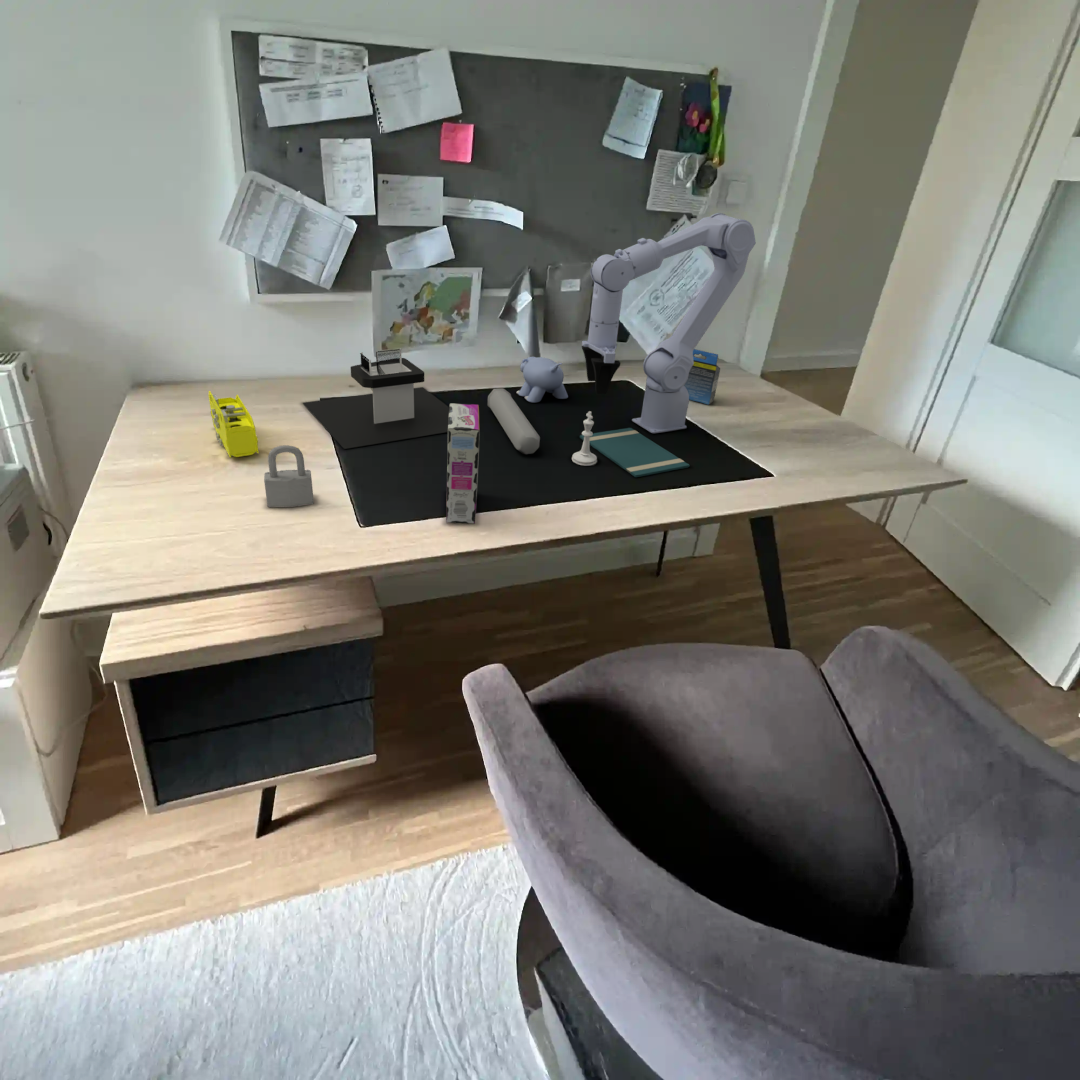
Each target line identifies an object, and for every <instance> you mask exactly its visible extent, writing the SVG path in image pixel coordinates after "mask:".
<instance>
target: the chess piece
mask: <svg viewBox="0 0 1080 1080" xmlns="http://www.w3.org/2000/svg"><path fill="white" fill-rule="evenodd" d="M585 416H586V417H587V418H586V419H584V420H583V427H584V430H583V431H582V432H581V435H584V440H582V441H583V442H582V445H581V449H580V450H579V451H576V452H574V453H573V454H572V456H571V460H572V462H573V463H574V464H576V465H580V466H584V467H587V466H595V465H596V464H597V463H598V456H597V455H596V454H594V453H592V452H591V450H590V447H591V445H590V444H589V440H590V436H592V435H593V431H591V430H592V428H593V426H594V424H595V421H594V420H593V418H594V417H593V415H592V411H590V410H589V411H587V413H586V415H585Z"/></svg>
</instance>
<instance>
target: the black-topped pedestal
mask: <svg viewBox="0 0 1080 1080" xmlns="http://www.w3.org/2000/svg"><path fill="white" fill-rule="evenodd" d="M363 353H364V352H361V351H360V353H359V354H360V364H356V365H352V366H350V377H351V378H352V379H353V380H355V382H357V383H358V384H359V385H360V386H361V387H362V388H365V389H370V390H371V391H372V393H368V394H359V395H353V396H352V395H351V396H344V397H336V398H335V397H334V398H328V399H320V400H313V401H305V402H302V404H303V405H304V407H305V408H306V409H307V410H308V411H309V412H310V413H311V414H312V415H313V417H314V418H315V419H316V420H317V421H318V422H319V423H320V425H322V426H323V428H324V429H325V430H326V431H327V432H328V433H329V434H330V435H331V436H332V438H334V440H335V441H336V442H337V443H338V444H339V445H340V446H341V448H342V449H343V450H346V449H353V448H358V447H365V446H372V445H377V444H383V443H390V442H395V441H401V440H407V439H415V438H421V437H425V436H431V435H437V434H443V433H448V419H449V408H450V406H449V405H447V404H446V403H444V402H443V401H442V400H440V399H439V398H437V397H436V396H435V395H434V394H433V393H431V392H430V391H429V390H427V389H426V388H424V387H415V384H419V383H424V382H425V371H423V370H422V369H421V368H420V367H418V366H417V365H415V364H414V363H412V362H411V361H410V360H409V359H407V358H405V357H402V348H401V347H400V348H398V349H397V348H396V349H387V350H375V360H376V361H372V359H369V358H368V357H366V355H364V354H363ZM387 354H388V356H387ZM397 354H398V355H397ZM388 357H389V358H388Z"/></svg>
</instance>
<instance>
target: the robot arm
mask: <svg viewBox="0 0 1080 1080" xmlns="http://www.w3.org/2000/svg"><path fill="white" fill-rule="evenodd" d="M754 229H755V228H754V226H753V224H752V223H751V222H750V221H749V220H747V219H742V218H741V219H740V218H737V217H733V216H730V215H727V214H725V213H723V212H717V213H713V214H711V215H710V216H704V217H702V218H700V220H699V221H697V222H694V223H693V224H691V225H688V226H687V227H685V228H682V229H681V230H679V231H677V232H675V233H673V234H671V235H669V236H667V237H665V238H663V239H661V240H659V241H655V240H654V239H651V238H646V237H641V238H639V239H637V243H636V244H633V245H631V246H628V247H626V248H625V249H621V248H618V249H616V250H615V253H614V254H613V255H612V254H608V253H606V254H602V255H600V256H598V257H597V258H596V260H595V261H594V262H593V264H592V267H590V269H589V272H590V273H589V275H590V278H591V279H592V281H593V290H592V298H591V307H590V316H589V317H590V318H589V327H588V337H587V340H582V341H581V349H582V352H583V357H584V361H585V368H586V378H587V381H588V382H594V390H595V394H597V395H606V394H607V393H608V390H609V389H610V385H611V382H612V380H613V377H614V376H615V374H616V372H617V371H618V369H619V368H620V367H621V362H620V360H618V359H617V360H616V352H617V347H618V343H617V341H618V333H619V326H620V316H621V315H620V314H621V309H622V302H623V293H624V289H626V288H627V286H628V285H629V283H630V281H633V280H635V279H637V278H640V277H642V276H644V275H646V274H649V273H652V272H653V271H655V270H658V269H660V268H661V266H662V264H663V262H664V260H665V259H668V258H671V257H673V256H676V255H679V254H681V253H684V252H686V251H690V250H692V249H694V248H698V247H700V246H702V247H707V249H708V251H709V253H710V255H711V257H712V262H713V268H714V270H713V271H712V272H711V274H710V276H709V277H708V279H707V281H706V282H705V283H704V285H703V286H702V288H701V289H700V291H699V293H698V294H697V296H696V297H695V299H694V300H693V302H692V304H691V305H690V307H689V308H688V310H687V311H686V313H685V314H684V316H683V317H682V319H681V320H680V322H679V324H678V325H677V326H676V328H675V330H674V331H673V333H672V334H671V336H670V337H668V338H666V339H664V340H662V341H660V342H659V343H658V345H657V346H656V348H654V349H653V350H652V351H650V352H649V353H648V354H647V355H646V357H645V358H644V359H643V363H642V370H643V372H644V374H645V375H646V381H645V389H644V395H643V402H642V408H641V415H640V417H634V418H632V419H631V421H632V422H633V423H635V424H636V425H638V426H640V427H641V428H643V429H644V430H646V431H648V432H649V433H651V434H655V435H656V434H659V433H666V432H673V431H679V430H685V429H687V428H688V427H687V425H686V418H687V414H688V408H689V403H690V400H689V394H688V391H687V389H686V387H685V386H684V385H685V383H686V381H687V379H688V375H689V371H690V369H691V367H692V366H693V364H694V361H693V350H694V349H696V347H697V346H698V344H699V342H700V341H701V340H702V338H703V336H705V334H706V332H707V331H708V329H709V328H710V326H711V324H712V323H713V322H714V320H715V318H716V317H717V315H718V314H719V312H720V311H721V310H722V308H723V306H724V305H725V303H726V302H727V301H728V299H729V298H730V296H731V295H732V293H733V292H734V290H735V288H736V287H737V285H738V284H739V282H740V281H741V279H742V278H743V276H744V274H745V271H746V268H747V263H748V259H749V255H750V253H751V251H752V250H753V248H754V247H755V245H756V243H757V242H756V236H755V235H756V234H755V230H754Z"/></svg>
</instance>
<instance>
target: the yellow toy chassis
mask: <svg viewBox="0 0 1080 1080" xmlns="http://www.w3.org/2000/svg"><path fill="white" fill-rule="evenodd" d="M208 401H209V408H210V415H211V416H210V417H211V419H212V420H211V421H212V425H213V427H214V429H215V432H216V434H215V437H216V440H217V441H218V443H219V446H220V447H221V446H223V447H224V449H225V452H226V453H227V454H228V457H229V459H230V458H232V457H235V458H241V457H247V456H253V455H254V454H255V453H257V454H258V455H259V444H258V443H259V440H258V436H257V431H256V427H255V422H254V419H253V417H252V415H251V413H250V412H249V410H248V409H247V407H246V406H245V404H244V402H243V401H242V399H241V398H240V396H239V394H236V395H235V398H234V397H231V396H230V397H220V398H218V397H217V395H216V394H213V393H212V391H211V390H208Z"/></svg>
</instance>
